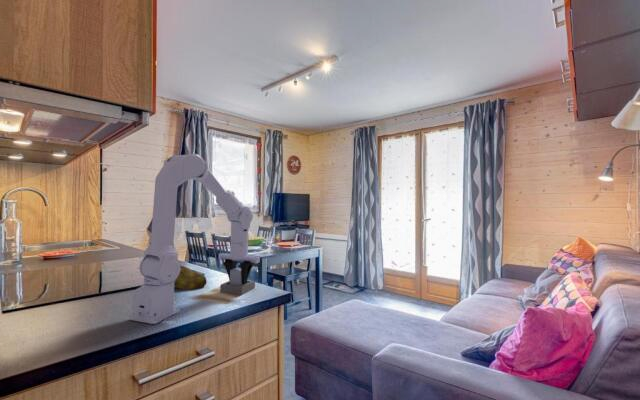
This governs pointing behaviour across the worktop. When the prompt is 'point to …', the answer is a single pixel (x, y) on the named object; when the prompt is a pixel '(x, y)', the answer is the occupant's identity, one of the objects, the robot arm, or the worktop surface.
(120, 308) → the worktop surface
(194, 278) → the potato
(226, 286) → the frame
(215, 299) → the board
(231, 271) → the plug
